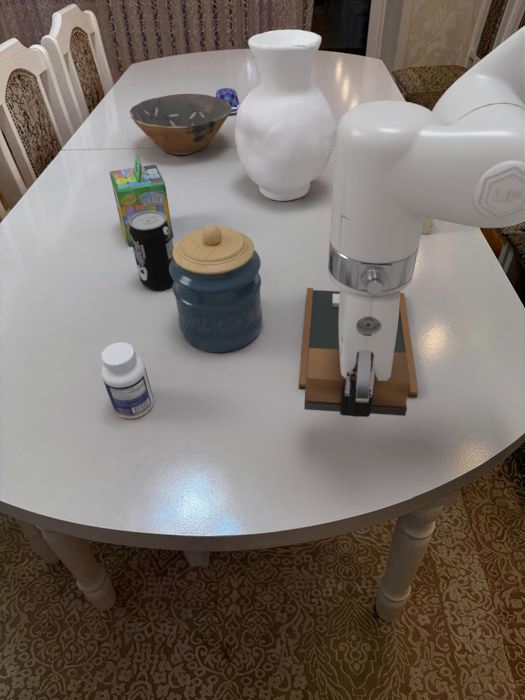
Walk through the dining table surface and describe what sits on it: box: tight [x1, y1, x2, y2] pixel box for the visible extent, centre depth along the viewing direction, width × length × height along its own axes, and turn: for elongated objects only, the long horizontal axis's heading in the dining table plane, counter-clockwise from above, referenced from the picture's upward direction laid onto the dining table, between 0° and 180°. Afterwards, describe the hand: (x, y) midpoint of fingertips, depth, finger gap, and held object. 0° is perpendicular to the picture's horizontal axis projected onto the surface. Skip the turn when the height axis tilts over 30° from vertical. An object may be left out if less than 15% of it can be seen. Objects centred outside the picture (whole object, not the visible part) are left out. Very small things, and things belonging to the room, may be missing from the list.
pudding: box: [215, 87, 243, 115], centre depth 149 cm, size 12×12×5 cm
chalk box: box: [109, 154, 174, 247], centre depth 95 cm, size 9×9×15 cm
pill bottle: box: [101, 341, 154, 420], centre depth 64 cm, size 5×5×10 cm
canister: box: [169, 224, 263, 353], centre depth 72 cm, size 13×13×18 cm
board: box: [298, 287, 419, 399], centre depth 75 cm, size 16×22×1 cm
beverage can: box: [129, 211, 174, 291], centre depth 83 cm, size 7×7×12 cm
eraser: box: [303, 348, 411, 417], centre depth 55 cm, size 11×5×5 cm, turn 83°
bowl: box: [129, 93, 232, 156], centre depth 126 cm, size 25×25×10 cm
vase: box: [234, 28, 338, 202], centre depth 101 cm, size 19×21×30 cm
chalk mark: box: [332, 294, 340, 307], centre depth 81 cm, size 4×2×1 cm
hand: (354, 393), depth 56 cm, fingers closed on eraser, 5 cm apart
